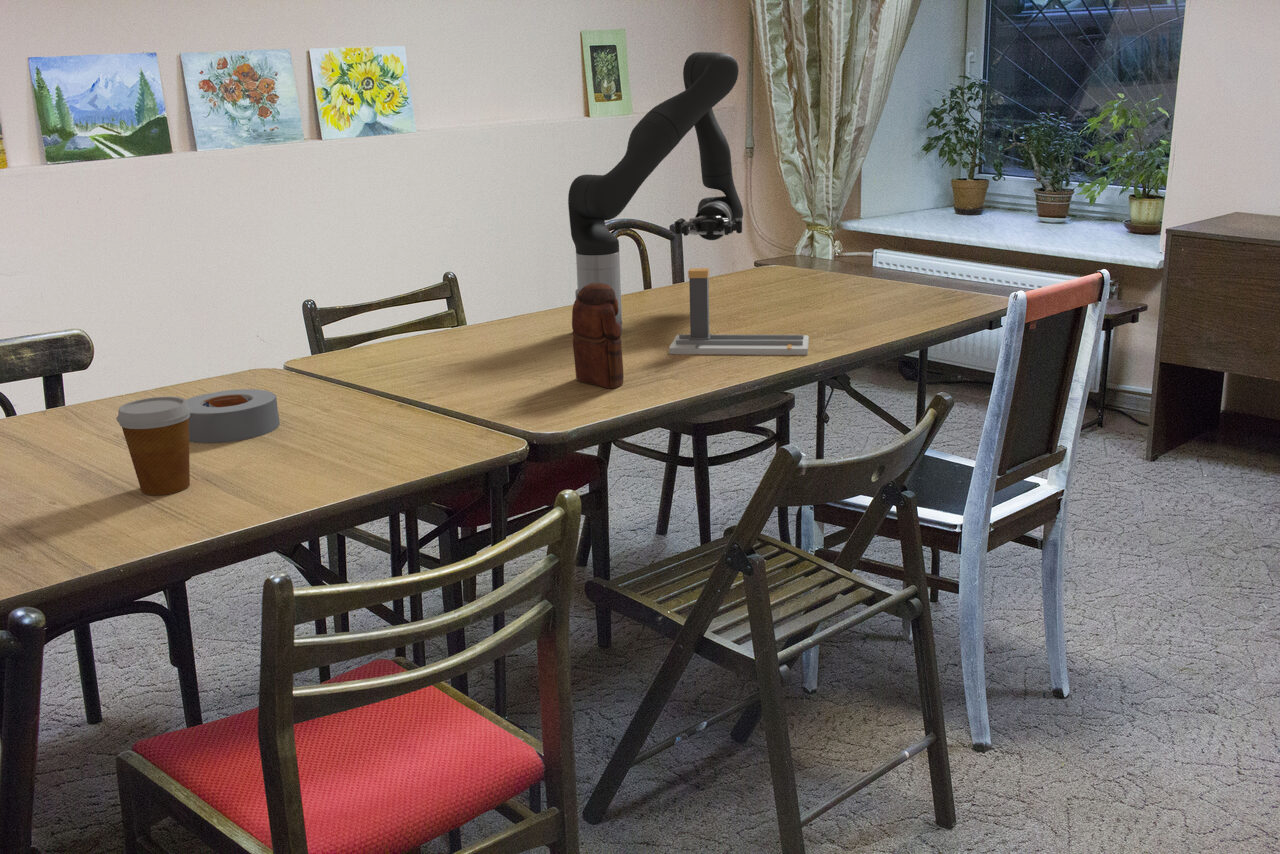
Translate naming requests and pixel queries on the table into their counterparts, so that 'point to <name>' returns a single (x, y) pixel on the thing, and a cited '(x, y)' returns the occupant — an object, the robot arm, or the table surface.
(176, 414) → the disposable coffee cup
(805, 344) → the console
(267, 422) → the tape roll
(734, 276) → the table surface
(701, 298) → the fader
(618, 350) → the wooden figurine
